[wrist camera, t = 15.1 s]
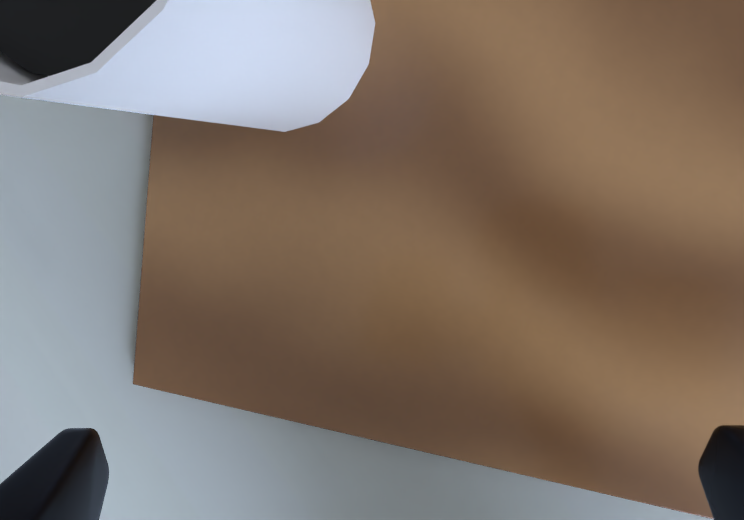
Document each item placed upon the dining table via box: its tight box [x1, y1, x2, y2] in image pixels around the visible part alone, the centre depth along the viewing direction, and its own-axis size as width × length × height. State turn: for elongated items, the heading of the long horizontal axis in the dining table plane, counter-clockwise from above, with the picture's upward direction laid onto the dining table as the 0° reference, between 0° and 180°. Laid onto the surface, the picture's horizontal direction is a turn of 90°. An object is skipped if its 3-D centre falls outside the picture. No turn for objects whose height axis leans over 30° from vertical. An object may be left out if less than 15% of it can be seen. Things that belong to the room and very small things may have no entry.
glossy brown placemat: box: [133, 0, 744, 519], centre depth 17 cm, size 16×20×1 cm
